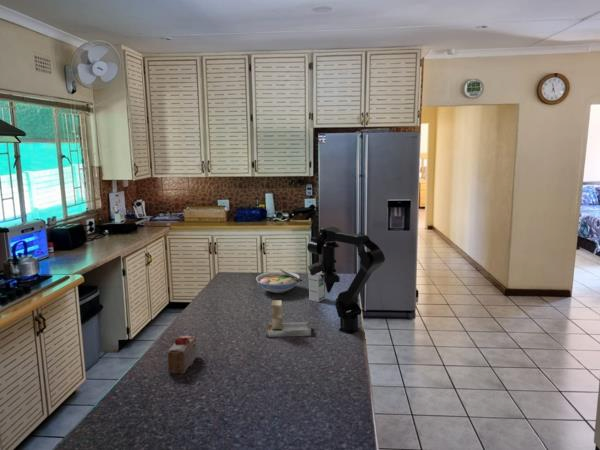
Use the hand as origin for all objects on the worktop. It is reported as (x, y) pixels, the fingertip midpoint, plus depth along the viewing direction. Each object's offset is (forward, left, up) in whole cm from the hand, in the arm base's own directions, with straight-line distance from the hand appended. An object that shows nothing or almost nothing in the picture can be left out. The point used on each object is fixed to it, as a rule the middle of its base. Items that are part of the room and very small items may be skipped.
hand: (328, 292), depth 193 cm
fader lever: (+10, +22, -12) cm, 27 cm away
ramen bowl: (+44, -18, -13) cm, 49 cm away
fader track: (+7, +19, -13) cm, 24 cm away
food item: (+20, +61, -13) cm, 66 cm away
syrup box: (+20, -19, -13) cm, 31 cm away
